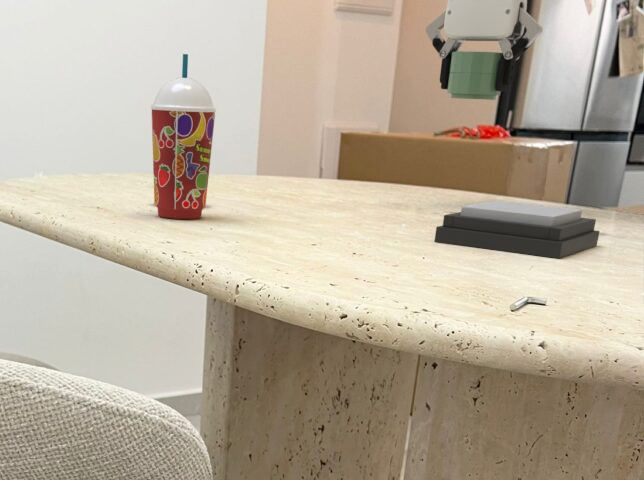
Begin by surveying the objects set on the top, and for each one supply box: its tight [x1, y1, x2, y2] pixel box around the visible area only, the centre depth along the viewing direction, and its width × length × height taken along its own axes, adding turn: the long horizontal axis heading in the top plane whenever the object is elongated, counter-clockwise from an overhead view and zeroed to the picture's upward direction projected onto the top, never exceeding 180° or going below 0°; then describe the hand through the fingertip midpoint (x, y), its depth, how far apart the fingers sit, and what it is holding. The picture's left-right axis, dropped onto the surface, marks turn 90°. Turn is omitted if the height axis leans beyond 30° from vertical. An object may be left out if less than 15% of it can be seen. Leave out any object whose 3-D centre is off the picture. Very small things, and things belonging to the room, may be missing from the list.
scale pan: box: [460, 200, 583, 227], centre depth 115 cm, size 11×11×2 cm
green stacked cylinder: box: [446, 50, 503, 101], centre depth 132 cm, size 7×7×6 cm
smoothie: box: [150, 53, 217, 220], centre depth 122 cm, size 8×8×20 cm
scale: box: [434, 211, 600, 260], centre depth 115 cm, size 15×15×3 cm
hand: (474, 89), depth 132 cm, fingers closed on green stacked cylinder, 7 cm apart
